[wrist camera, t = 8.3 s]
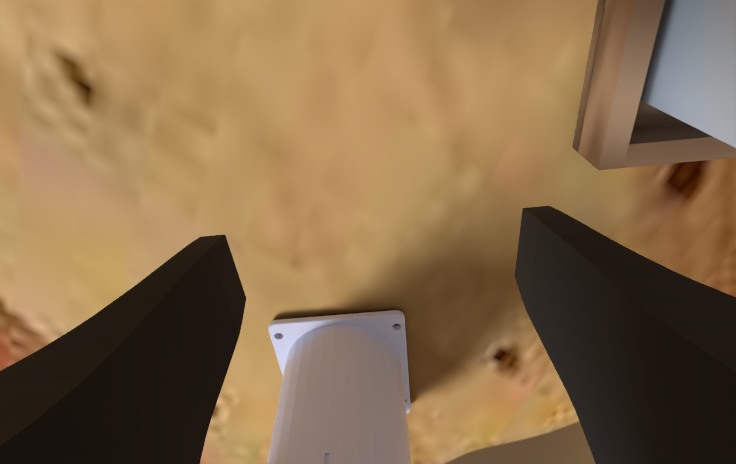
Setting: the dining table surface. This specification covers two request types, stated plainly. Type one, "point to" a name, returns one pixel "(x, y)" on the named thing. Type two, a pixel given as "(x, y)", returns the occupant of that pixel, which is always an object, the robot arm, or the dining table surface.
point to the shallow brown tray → (631, 97)
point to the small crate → (696, 66)
